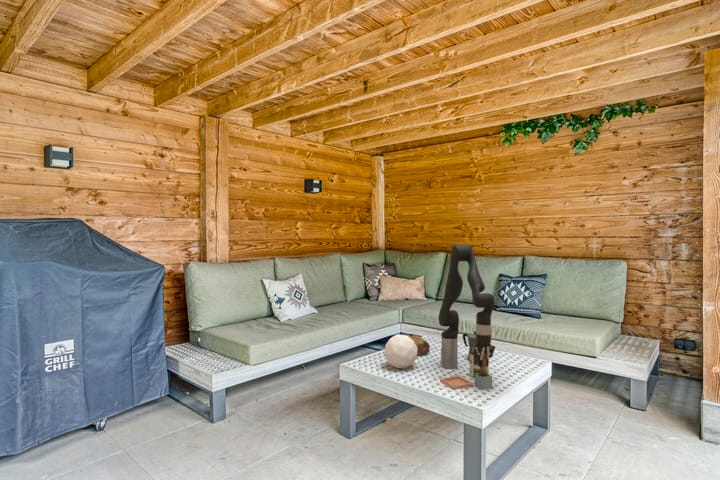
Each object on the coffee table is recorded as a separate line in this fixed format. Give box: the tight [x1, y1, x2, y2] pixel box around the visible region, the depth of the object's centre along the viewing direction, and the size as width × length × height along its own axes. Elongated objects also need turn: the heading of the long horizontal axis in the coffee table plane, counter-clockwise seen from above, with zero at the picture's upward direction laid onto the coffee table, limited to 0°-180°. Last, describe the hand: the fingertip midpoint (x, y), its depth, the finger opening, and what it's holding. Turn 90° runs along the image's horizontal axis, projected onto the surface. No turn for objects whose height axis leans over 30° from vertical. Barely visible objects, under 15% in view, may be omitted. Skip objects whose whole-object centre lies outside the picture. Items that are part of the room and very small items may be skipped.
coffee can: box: [468, 350, 490, 379], centre depth 228 cm, size 10×10×14 cm
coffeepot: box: [462, 330, 476, 362], centre depth 258 cm, size 15×9×18 cm, turn 44°
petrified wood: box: [407, 334, 431, 357], centre depth 275 cm, size 19×13×10 cm
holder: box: [474, 373, 493, 391], centre depth 211 cm, size 6×6×7 cm
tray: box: [439, 375, 474, 390], centre depth 215 cm, size 12×12×2 cm
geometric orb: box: [384, 334, 418, 370], centre depth 245 cm, size 19×20×20 cm
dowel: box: [480, 353, 486, 377], centre depth 211 cm, size 3×3×14 cm
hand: (483, 366), depth 211 cm, fingers closed on dowel, 3 cm apart
